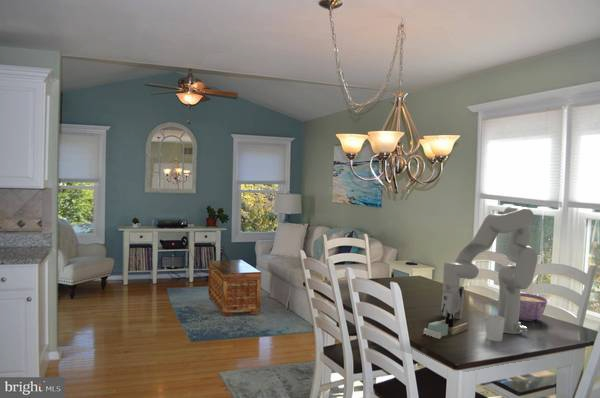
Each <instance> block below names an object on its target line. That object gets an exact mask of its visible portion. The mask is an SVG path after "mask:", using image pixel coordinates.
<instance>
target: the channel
mask: <svg viewBox="0 0 600 398" xmlns="http://www.w3.org/2000/svg"><path fill="white" fill-rule="evenodd" d="M438 322H441V323H445V322H446V318H445V319H442V320H438ZM450 328H451V329H450V335H451V336H454V335H457V334H460V333H462V332H464V331H468V330H469V323H468V322H464V323H461V324H458V325H455V326H453V327H450Z"/></svg>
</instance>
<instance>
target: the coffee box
mask: <svg viewBox="0 0 600 398" xmlns="http://www.w3.org/2000/svg"><path fill="white" fill-rule="evenodd" d="M459 294H460V310H459V311H458V312H456V313H455V314H454V318H453V319H457V320H461V319H462V317H463V311H464V310H463V309H464V308H463V307H464V296H465V286H461V285H459ZM443 317H444V318H445V316H443Z"/></svg>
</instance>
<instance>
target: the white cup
mask: <svg viewBox="0 0 600 398" xmlns="http://www.w3.org/2000/svg"><path fill="white" fill-rule="evenodd" d="M485 317H486V318H485V319H486V320H485V335H486V337H485V338H486V340H489V341H491V342H501V341H503V338H504V337H503V335H504V333H503V330H504V322H505V318H503V317H501V316H498V315H493V314H489V315H488V314H487V315H486V316H485Z"/></svg>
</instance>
